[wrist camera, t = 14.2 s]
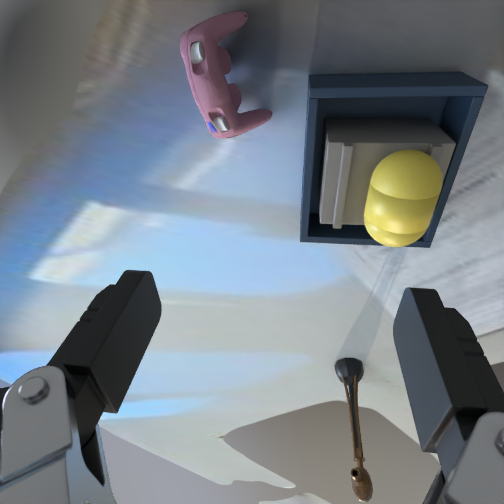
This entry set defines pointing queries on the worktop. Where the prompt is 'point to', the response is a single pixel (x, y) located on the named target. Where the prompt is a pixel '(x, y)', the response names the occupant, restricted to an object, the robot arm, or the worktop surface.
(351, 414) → the wooden tabletop sculpture
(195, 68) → the video game controller
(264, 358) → the worktop surface
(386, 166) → the yellow capsule
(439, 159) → the block
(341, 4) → the worktop surface
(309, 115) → the crate
